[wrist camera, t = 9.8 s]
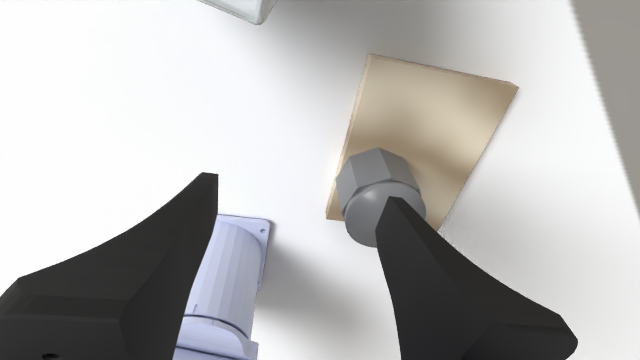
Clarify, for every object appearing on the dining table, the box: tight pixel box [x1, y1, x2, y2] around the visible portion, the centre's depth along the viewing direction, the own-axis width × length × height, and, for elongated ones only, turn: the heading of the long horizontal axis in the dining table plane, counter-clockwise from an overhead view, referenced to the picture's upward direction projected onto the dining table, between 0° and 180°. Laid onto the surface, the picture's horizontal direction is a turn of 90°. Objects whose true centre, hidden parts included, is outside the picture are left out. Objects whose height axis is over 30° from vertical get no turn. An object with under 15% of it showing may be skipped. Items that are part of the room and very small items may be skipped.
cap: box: [336, 147, 426, 248], centre depth 22 cm, size 5×5×4 cm
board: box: [326, 54, 519, 231], centre depth 23 cm, size 13×10×1 cm
